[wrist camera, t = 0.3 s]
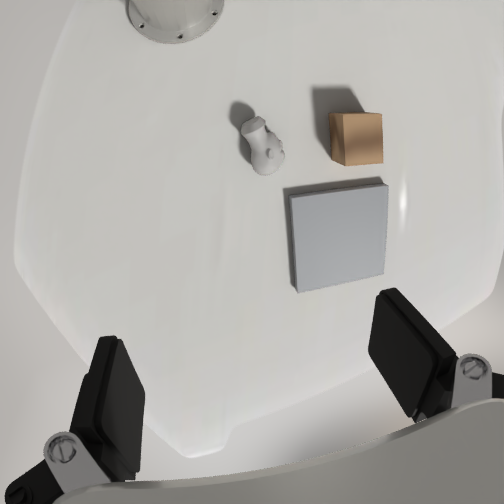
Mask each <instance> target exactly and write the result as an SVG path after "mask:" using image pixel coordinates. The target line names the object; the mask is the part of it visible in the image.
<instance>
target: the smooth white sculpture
mask: <svg viewBox="0 0 504 504" xmlns="http://www.w3.org/2000/svg"><path fill="white" fill-rule="evenodd" d="M264 125H265V120H264V119H262V118H261V117H259V116H257V117H254V118H252V119H250V120H248V121H246V122H245V123H243V124H242V128H241V134H242V135H243V136H244V137H245V138H246V139H247V141H248V143H249V145H250V147H251V163H252V167H253V169H254V170H255V172H257V173H258V174H260V175H263V176H266V175H271V174H273V173H275V172H276V171H277V170H279V168H280V167H281V166H282V164H283V162H284V158H285V154H284V151H283V150H282V141H281V140H279V139H278V138H277V137H276V136H275V134H274V133H273V132H268V133H267V132H266V130H265V127H264Z"/></svg>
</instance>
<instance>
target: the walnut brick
mask: <svg viewBox="0 0 504 504" xmlns="http://www.w3.org/2000/svg"><path fill="white" fill-rule="evenodd" d="M329 126H330V140H331V157H332V160H333V161H335V162H337V163H339V164H342V165H344V166H354V165H365V164H378V163H383V131H382V114H378V113H369V112H347V113H329Z"/></svg>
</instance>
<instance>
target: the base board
mask: <svg viewBox="0 0 504 504" xmlns="http://www.w3.org/2000/svg"><path fill="white" fill-rule="evenodd" d="M289 205H290V217H291V231H292V245H293V260H294V275H295V289H296V291H297V293H302V292H307V291H311V290H316V289H321V288H325V287H330V286H334V285H339V284H343V283H348V282H352V281H357V280H361V279H365V278H370V277H374V276H378V275H382V274H384V264H385V251H386V237H387V218H388V185H386V184H384V183H381V184H373V185H364V186H356V187H348V188H340V189H332V190H324V191H317V192H310V193H303V194H296V195H289Z"/></svg>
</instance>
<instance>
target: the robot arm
mask: <svg viewBox="0 0 504 504" xmlns="http://www.w3.org/2000/svg"><path fill="white" fill-rule="evenodd" d="M223 6H224V0H130V1H129V15H130V19H131V21H132V23H133V25H134V27H135V28H136V29H137V30H138V31H139V32H140V33H141V34H142V35H143V36H145V37H147V38H148V39H150V40H153V41H156V42H160V43H168V44H175V43H183V42H186V41H190V40H193V39H195V38H197V37H199V36H201V35H202V34H204V33H205V32H207V31H208V30H209V29H210V28H211V27H212V26H213V25H214V24H215V23H216V22H217V20H218V19H219V17H220V15H221V13H222V10H223ZM213 13H216V15H215V16H214V15H213ZM142 25H144V27H143V28H141V26H142ZM179 36H182V38H181V39H179V38H178V37H179ZM368 352H369V355H370V357H371V359H372V360H373V362H374V364H375V365H376V367H377V368H378V370H379V372H380V373H381V375H382V376H383V378H384V379H385V381H386V383H387V384H388V386H389V388H390V389H391V391H392V392H393V394H394V396H395V397H396V399H397V401H398V402H399V404H400V406H401V407H402V409H403V410H404V412H405V414H406V415H407V416H408V417H412V419H413V421H414V422H415V423H416V424H414V425H411V426H409V427H406V428H404V429H401V430H399V431H396V432H393V433H391V434H388V435H386V436H383V437H380V438H377V439H374V440H372V441H369V442H366V443H363V444H360V445H357V446H353V447H350V448H347V449H344V450H340V451H337V452H334V453H330V454H327V455H323V456H319V457H315V458H312V459H308V460H304V461H299V462H295V463H291V464H286V465H281V466H277V467H271V468H267V469H261V470H255V471H249V472H243V473H237V474H230V475H221V476H213V477H203V478H192V479H178V480H165V481H164V480H162V481H134V482H125V480H135V476H136V475H135V474H136V472H139V471H140V460H141V442H142V427H143V415H144V404H145V391H144V388H143V386H142V384H141V382H140V380H139V377H138V375H137V373H136V371H135V369H134V366H133V364H132V362H131V360H130V357H129V355H128V353H127V350H126V348H125V346H124V343H123V341H122V340H121V339H117V337H116V336H114V335H113V336H104V337H100V338H99V340H98V343H97V346H96V349H95V353H94V356H93V359H92V362H91V366H90V369H89V372H88V373H87V374H86V375H85V376H84V379H83V381H82V385H81V388H80V392H79V395H78V399H77V402H76V406H75V410H74V414H73V418H72V422H71V426H70V430H69V432H59V433H57V434H55V435H53V436H52V437H50V438H49V439H48V441H47V442H46V444H45V446H44V457H45V459H44V460H43V461H41V462H40V463H39V464H37V465H36V466H35V467H33V468H32V469H30V470H29V471H28V472H26V473H25V474H24V475H22V476H20V477H19V478H18V479H16V480H15V481H13V482H12V483H11V484H10V485H9V486H8V487H7V489H6V492H5V502H6V504H504V375H502V374H497V373H493V372H492V369H491V366H490V364H489V362H488V361H487V360H486V359H485V358H483V357H482V356H480V355H477V354H465V355H463V356H461V357H460V358H458V357H457V356H456V352H455V351H454V350H453V349H452V348H451V347H450V345H449V344H448V343H447V342H446V341H445V340H444V339H443V338H442V337H441V335H440V334H439V333H438V332H437V331H436V330H435V329H434V328H433V327H432V325H431V324H430V323H429V322H428V321H427V320H426V319H425V318H424V317H423V316H422V315H421V314H420V313H419V311H418V310H417V309H416V308H415V307H414V306H413V305H412V304H411V303H410V302H409V301H408V300H407V299H406V298H405V297H404V296H403V295H402V294H401V293H400V291H399V290H398V289H396V288H390V289H386V290H382V291H380V293H379V295H378V296H377V297H376V301H375V308H374V315H373V322H372V328H371V334H370V340H369V346H368ZM426 418H427V419H426ZM424 419H426V420H424ZM422 420H423V421H422ZM420 421H421V422H420ZM417 422H419V423H417Z"/></svg>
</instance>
